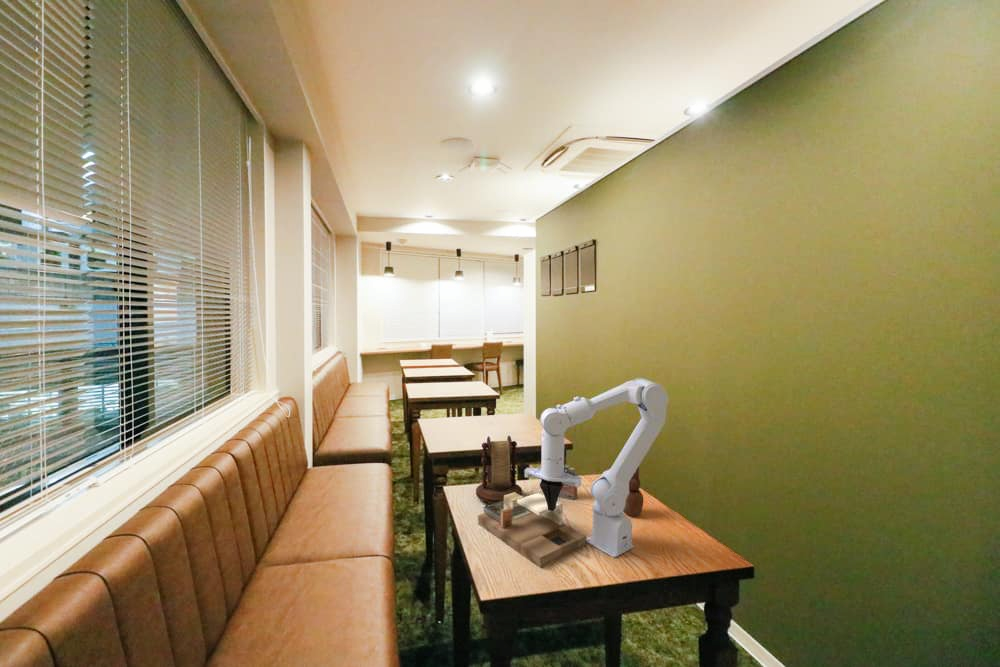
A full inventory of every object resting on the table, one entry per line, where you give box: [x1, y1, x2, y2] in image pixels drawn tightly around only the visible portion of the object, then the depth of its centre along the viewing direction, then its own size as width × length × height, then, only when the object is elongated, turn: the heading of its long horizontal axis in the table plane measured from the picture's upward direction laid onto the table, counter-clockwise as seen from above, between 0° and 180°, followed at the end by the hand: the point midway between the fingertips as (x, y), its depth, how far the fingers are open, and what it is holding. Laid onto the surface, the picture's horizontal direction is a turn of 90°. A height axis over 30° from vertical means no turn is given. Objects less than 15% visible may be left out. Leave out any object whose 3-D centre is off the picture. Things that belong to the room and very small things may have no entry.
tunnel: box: [477, 491, 587, 569], centre depth 114 cm, size 26×16×8 cm, turn 37°
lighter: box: [558, 465, 579, 501], centre depth 137 cm, size 8×3×10 cm, turn 58°
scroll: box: [475, 435, 523, 506], centre depth 136 cm, size 15×15×20 cm
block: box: [504, 492, 524, 510], centre depth 122 cm, size 4×4×4 cm
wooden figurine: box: [622, 465, 644, 518], centre depth 126 cm, size 7×6×15 cm
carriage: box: [483, 500, 526, 527], centre depth 119 cm, size 10×12×4 cm
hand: (551, 509), depth 108 cm, fingers closed
